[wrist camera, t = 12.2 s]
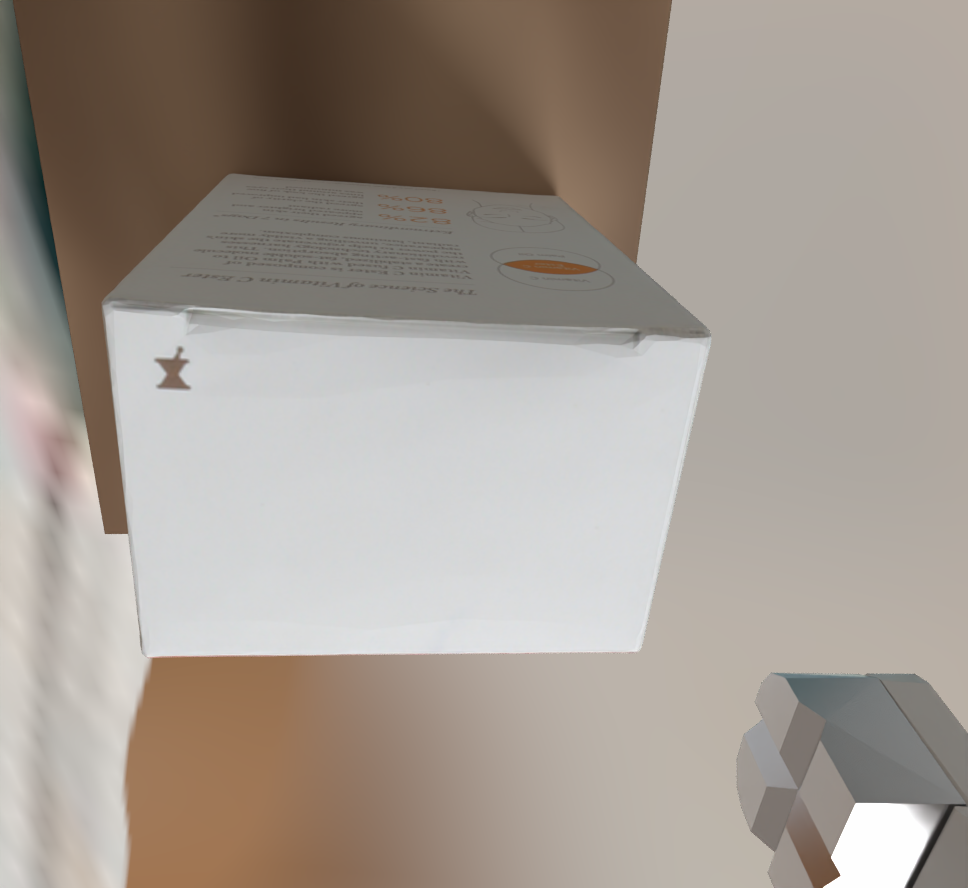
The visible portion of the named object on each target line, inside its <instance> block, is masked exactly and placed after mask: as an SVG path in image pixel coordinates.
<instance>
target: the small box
mask: <svg viewBox="0 0 968 888" xmlns="http://www.w3.org/2000/svg"><path fill="white" fill-rule="evenodd" d="M102 316H103V324H104V332H105V340H106V348H107V357H108V365H109V374H110V382H111V391H112V399H113V408H114V416H115V424H116V433H117V441H118V449H119V458H120V466H121V474H122V483H123V492H124V500H125V509H126V518H127V527H128V535H129V544H130V553H131V562H132V571H133V580H134V589H135V596H136V605H137V613H138V622H139V630H140V644H141V650H142V654H143V655H144V656H145V657H147V658H159V657H220V656H288V655H290V656H293V655H294V656H302V655H303V656H305V655H381V654H382V655H383V654H384V655H385V654H412V655H419V654H504V653H505V654H519V653H520V654H529V653H637V652H638V651H639V650H640V649H641V647H642V645H643V641H644V635H645V631H646V626H647V622H648V618H649V613H650V609H651V605H652V601H653V596H654V592H655V587H656V583H657V579H658V574H659V570H660V565H661V561H662V557H663V552H664V547H665V543H666V539H667V535H668V530H669V526H670V522H671V517H672V513H673V508H674V504H675V499H676V495H677V491H678V486H679V482H680V477H681V473H682V469H683V464H684V460H685V455H686V451H687V447H688V442H689V438H690V433H691V429H692V424H693V420H694V415H695V411H696V406H697V402H698V397H699V393H700V388H701V384H702V379H703V375H704V370H705V366H706V361H707V357H708V353H709V349H710V345H711V333H710V330H709V329H707V327H706V326H705V325H704V324H703V323H701V322H700V321H699V320H698V319H697V318H696V317H695V316H693V315H692V314H691V313H690V312H689V311H688V310H687V309H685V308H684V307H683V306H682V305H681V304H680V303H679V302H678V301H677V300H676V299H675V298H673V297H672V296H671V295H670V294H669V293H668V292H667V291H666V290H664V289H663V288H662V287H661V286H660V285H659V284H658V283H656V282H655V281H654V280H653V279H652V278H651V277H650V276H649V275H647V274H646V273H645V272H644V271H643V270H642V269H641V268H639V266H638V265H637V264H635V263H634V262H633V261H632V260H630V259H629V258H628V257H627V256H626V255H625V254H624V253H623V252H621V251H620V250H619V249H618V248H617V247H616V246H615V245H614V244H612V243H611V242H610V241H609V240H608V239H607V238H606V237H605V236H604V235H602V234H601V233H600V232H599V231H598V230H596V229H595V228H594V227H593V226H592V225H591V224H590V223H589V222H587V221H586V220H585V219H584V218H583V217H582V216H581V215H579V214H578V213H577V212H576V211H575V210H574V209H573V208H571V207H570V206H569V205H568V204H567V203H566V202H565V201H564V200H563V199H562V198H561V197H558V196H549V195H528V194H515V193H497V192H485V191H470V190H456V189H441V188H426V187H410V186H396V185H382V184H368V183H354V182H339V181H322V180H308V179H294V178H280V177H266V176H254V175H244V174H234V173H233V174H229V175H227V176H226V177H225V178H224V179H223V180H222V181H221V182H220V183H219V184H218V185H217V186H216V187H215V188H214V189H213V190H212V191H211V192H210V193H209V194H208V195H207V196H206V197H205V198H204V199H203V200H202V201H201V202H200V203H199V204H198V205H197V206H196V207H195V208H194V209H193V210H192V211H191V212H190V213H189V214H188V215H187V216H186V217H185V218H184V219H183V220H182V221H181V222H180V223H179V224H178V225H177V226H176V227H175V228H174V229H173V230H172V231H171V232H170V233H169V234H168V235H167V236H166V237H165V238H164V239H163V240H162V241H161V242H160V243H159V244H158V245H157V246H156V247H155V248H154V249H153V250H152V251H151V252H150V253H149V254H148V255H147V256H146V257H145V258H144V259H143V260H142V261H141V262H140V263H139V264H138V265H137V266H136V267H135V268H134V269H133V270H132V271H131V272H130V273H129V274H128V275H127V276H126V277H125V278H124V279H123V280H122V281H121V282H120V283H119V284H118V285H117V286H116V287H115V289H113V290H112V291H111V292H110V293H109V294H108V295H107V296H106V297H105V298H104V300H103V301H102Z"/></svg>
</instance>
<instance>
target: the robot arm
mask: <svg viewBox="0 0 968 888" xmlns="http://www.w3.org/2000/svg"><path fill="white" fill-rule="evenodd" d="M755 704H756V706H757V708H758V710H759V712H760V714H761V716H762V718H763V719H762V720H761V721H760V722H759V723H758V724H756V725H755V726H754V727H752V728H751V729H750V730H749V731H748V732H746V733H745V734H744V735H743V739H742V742H741V746H740V749H739V753H738V757H737V790H738V794H739V798H740V803H741V808H742V811H743V813H744V816H745V818H746V821H747V823H748V826H749V828H750V831H751V832H752V833H753V834H754V835H755V836H757V837H758V838H759V839H760V840H761V841H762V842H764V843H765V844H766V845H767V846H768V847H769V848H771V849H772V850H773V851H774V855H773V858H772V861H771V864H770V867H769V870H768V874H769V877H770V879H771V882H772V884H773V886H774V888H968V733H967V732H966V730H965V729H964V728H963V726H962V725H961V724H960V723H959V721H958V720H957V719H956V717H955V716H954V715H953V713H952V712H951V711H950V710H949V708H948V707H947V706H946V704H945V703H944V702H943V701H942V699H941V698H940V697H939V695H938V694H937V693H936V691H935V690H934V689H933V688H932V686H931V685H930V684H929V683H928V682H927V681H925V680H924V679H922V678H921V677H919V676H917V675H916V674H866V675H861V674H822V673H821V674H820V673H818V674H817V673H770V674H769V676H768V677H767V678H766V679H765V680H764V681H763V682H762V683H761V686H760V689H759V691H758V694H757V697H756V700H755Z"/></svg>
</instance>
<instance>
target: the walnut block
mask: <svg viewBox="0 0 968 888" xmlns="http://www.w3.org/2000/svg"><path fill="white" fill-rule="evenodd" d="M671 4H672V0H13V5H14V11H15V16H16V22H17V28H18V34H19V39H20V45H21V51H22V57H23V63H24V68H25V74H26V80H27V86H28V92H29V97H30V103H31V109H32V115H33V120H34V126H35V132H36V138H37V144H38V149H39V155H40V161H41V167H42V173H43V178H44V184H45V190H46V196H47V202H48V207H49V213H50V219H51V225H52V230H53V236H54V242H55V248H56V254H57V259H58V265H59V271H60V277H61V283H62V288H63V294H64V300H65V306H66V311H67V317H68V323H69V329H70V335H71V340H72V346H73V352H74V358H75V364H76V369H77V375H78V381H79V387H80V392H81V398H82V404H83V410H84V416H85V421H86V427H87V433H88V439H89V445H90V450H91V456H92V462H93V468H94V473H95V479H96V485H97V491H98V497H99V502H100V508H101V514H102V520H103V526H104V531H105V534H128V527H127V518H126V509H125V500H124V492H123V483H122V474H121V466H120V458H119V449H118V441H117V433H116V424H115V416H114V408H113V399H112V391H111V382H110V374H109V365H108V357H107V348H106V340H105V332H104V324H103V316H102V301H103V300H104V298H105V297H106V296H107V295H108V294H109V293H110V292H111V291H112V290H113V289H115V287H116V286H117V285H118V284H119V283H120V282H121V281H122V280H123V279H124V278H125V277H126V276H127V275H128V274H129V273H130V272H131V271H132V270H133V269H134V268H135V267H136V266H137V265H138V264H139V263H140V262H141V261H142V260H143V259H144V258H145V257H146V256H147V255H148V254H149V253H150V252H151V251H152V250H153V249H154V248H155V247H156V246H157V245H158V244H159V243H160V242H161V241H162V240H163V239H164V238H165V237H166V236H167V235H168V234H169V233H170V232H171V231H172V230H173V229H174V228H175V227H176V226H177V225H178V224H179V223H180V222H181V221H182V220H183V219H184V218H185V217H186V216H187V215H188V214H189V213H190V212H191V211H192V210H193V209H194V208H195V207H196V206H197V205H198V204H199V203H200V202H201V201H202V200H203V199H204V198H205V197H206V196H207V195H208V194H209V193H210V192H211V191H212V190H213V189H214V188H215V187H216V186H217V185H218V184H219V183H220V182H221V181H222V180H223V179H224V178H225V177H226V176H227V175H229V174H233V173H234V174H244V175H254V176H266V177H280V178H294V179H308V180H322V181H339V182H354V183H368V184H382V185H396V186H410V187H426V188H441V189H456V190H470V191H485V192H497V193H515V194H528V195H549V196H558V197H561V198H562V199H563V200H564V201H565V202H566V203H567V204H568V205H569V206H570V207H571V208H573V209H574V210H575V211H576V212H577V213H578V214H579V215H581V216H582V217H583V218H584V219H585V220H586V221H587V222H589V223H590V224H591V225H592V226H593V227H594V228H595V229H596V230H598V231H599V232H600V233H601V234H602V235H604V236H605V237H606V238H607V239H608V240H609V241H610V242H611V243H612V244H614V245H615V246H616V247H617V248H618V249H619V250H620V251H621V252H623V253H624V254H625V255H626V256H627V257H628V258H629V259H630V260H632V261H633V262H634V263H635V264H636V261H637V254H638V246H639V239H640V232H641V225H642V217H643V210H644V203H645V195H646V188H647V180H648V173H649V166H650V158H651V151H652V144H653V136H654V129H655V121H656V114H657V107H658V99H659V92H660V85H661V77H662V70H663V63H664V55H665V48H666V40H667V33H668V26H669V18H670V11H671Z"/></svg>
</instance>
